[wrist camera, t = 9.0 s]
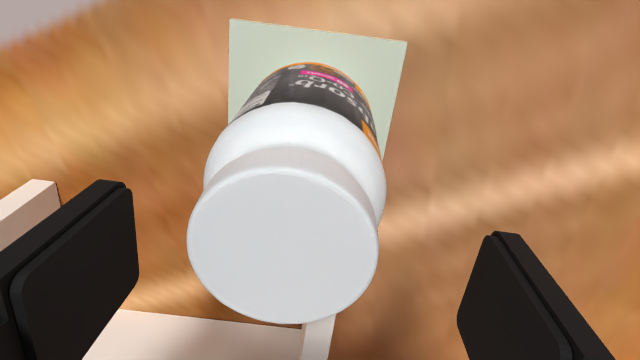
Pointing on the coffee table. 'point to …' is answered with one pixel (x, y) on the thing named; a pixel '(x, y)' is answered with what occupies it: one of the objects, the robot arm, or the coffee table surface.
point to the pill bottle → (292, 199)
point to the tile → (319, 46)
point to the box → (162, 329)
